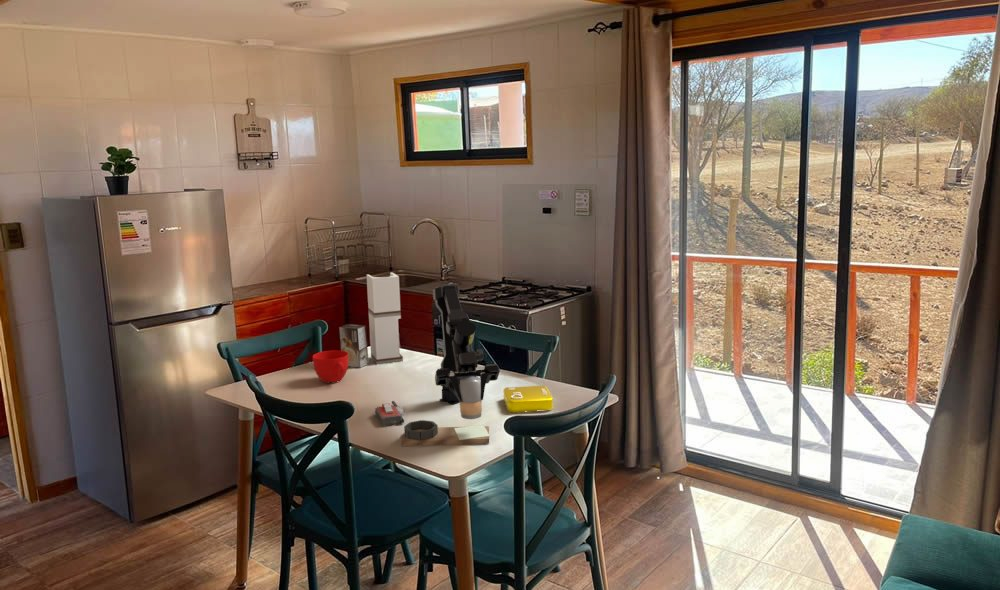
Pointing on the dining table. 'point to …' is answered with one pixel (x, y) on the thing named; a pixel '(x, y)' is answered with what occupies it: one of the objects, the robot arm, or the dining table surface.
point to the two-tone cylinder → (470, 397)
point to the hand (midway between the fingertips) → (471, 400)
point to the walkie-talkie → (390, 414)
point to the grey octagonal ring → (421, 435)
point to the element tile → (527, 398)
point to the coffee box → (354, 344)
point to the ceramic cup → (331, 365)
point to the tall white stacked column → (384, 318)
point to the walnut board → (444, 438)
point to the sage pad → (471, 432)
